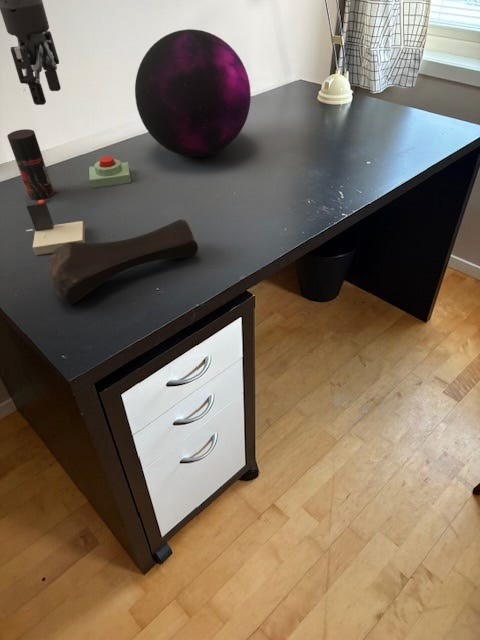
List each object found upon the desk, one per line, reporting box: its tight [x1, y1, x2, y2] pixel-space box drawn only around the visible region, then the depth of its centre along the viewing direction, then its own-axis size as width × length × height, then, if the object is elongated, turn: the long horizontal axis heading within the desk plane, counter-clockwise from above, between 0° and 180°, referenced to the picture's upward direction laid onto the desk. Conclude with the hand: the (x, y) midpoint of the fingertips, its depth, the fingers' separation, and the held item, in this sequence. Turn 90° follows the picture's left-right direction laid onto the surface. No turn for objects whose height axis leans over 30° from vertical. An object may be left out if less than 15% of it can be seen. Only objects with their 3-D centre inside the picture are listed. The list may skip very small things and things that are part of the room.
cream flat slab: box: [25, 220, 86, 256], centre depth 102 cm, size 12×11×2 cm
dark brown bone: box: [48, 218, 199, 304], centre depth 90 cm, size 11×10×28 cm
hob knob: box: [26, 199, 55, 231], centre depth 100 cm, size 4×2×6 cm, turn 103°
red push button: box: [98, 155, 115, 168], centre depth 121 cm, size 4×4×2 cm
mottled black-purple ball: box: [134, 28, 252, 158], centre depth 125 cm, size 30×30×30 cm
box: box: [88, 158, 132, 189], centre depth 123 cm, size 10×8×4 cm
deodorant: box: [7, 128, 55, 201], centre depth 114 cm, size 6×6×15 cm
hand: (48, 97), depth 96 cm, fingers open, 8 cm apart
